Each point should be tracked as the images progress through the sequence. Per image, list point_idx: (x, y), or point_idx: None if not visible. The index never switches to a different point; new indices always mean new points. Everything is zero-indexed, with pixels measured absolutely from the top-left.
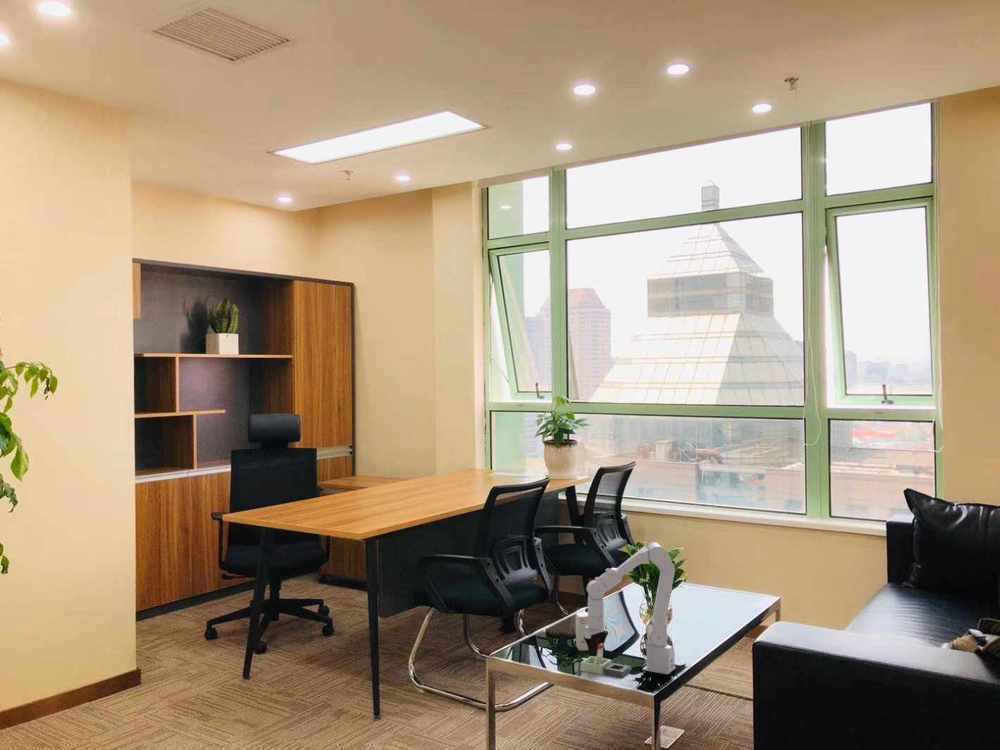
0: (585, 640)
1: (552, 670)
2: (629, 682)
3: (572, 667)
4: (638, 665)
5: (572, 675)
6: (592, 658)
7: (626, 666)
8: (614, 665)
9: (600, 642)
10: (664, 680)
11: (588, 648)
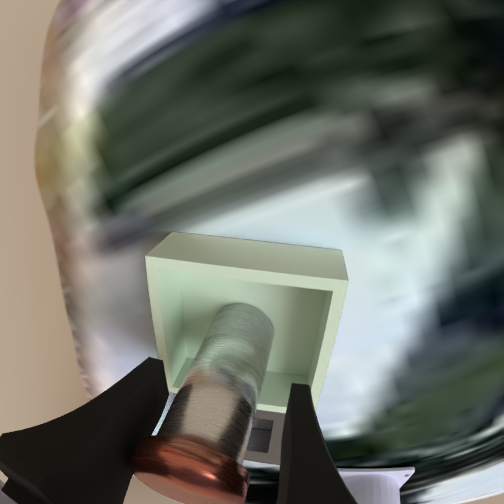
0: (25, 433)
1: (87, 59)
2: None
3: (203, 143)
4: (393, 446)
5: (76, 214)
6: (329, 292)
7: (274, 457)
8: (274, 418)
9: (216, 500)
10: (252, 500)
11: (103, 394)
